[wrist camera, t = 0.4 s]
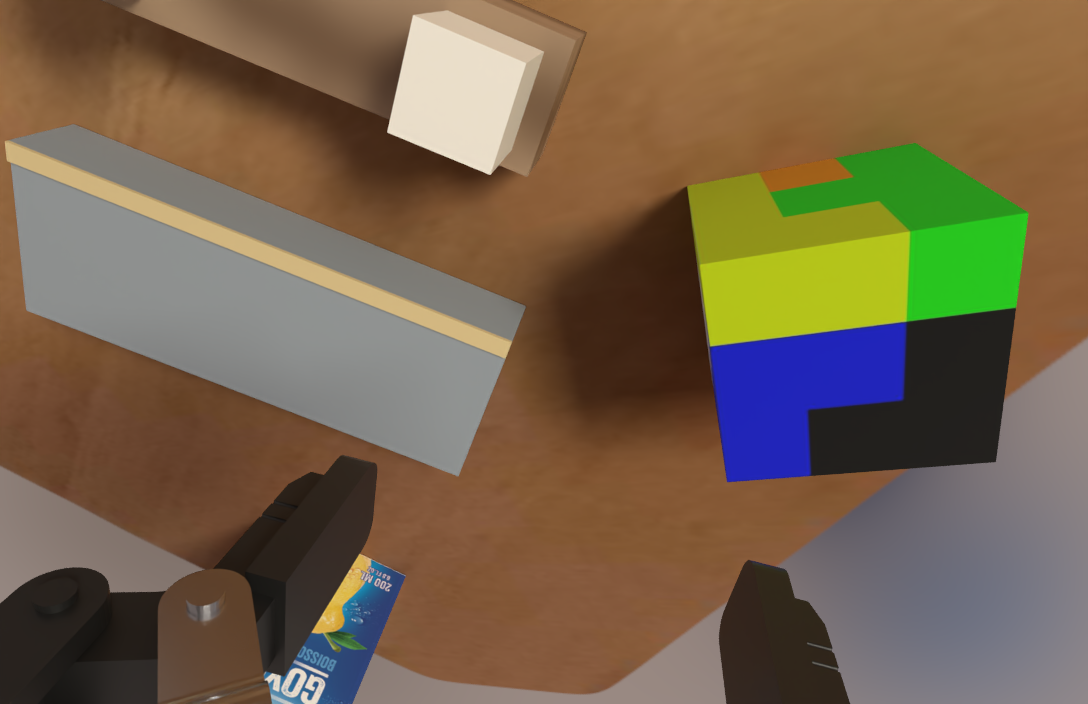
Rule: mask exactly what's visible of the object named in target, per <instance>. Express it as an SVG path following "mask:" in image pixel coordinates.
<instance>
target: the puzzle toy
mask: <svg viewBox="0 0 1088 704" xmlns="http://www.w3.org/2000/svg"><path fill="white" fill-rule="evenodd" d="M687 190H688V198H689V205H690V213H691V221H692V229H693V237H694V244H695V252H696V260H697V268H698V275H699V283H700V291H701V299H702V307H703V314H704V322H705V330H706V338H707V346H708V353H709V361H710V368H711V375H712V382H713V388H714V395H715V402H716V409H717V416H718V423H719V430H720V436H721V443H722V450H723V457H724V464H725V471H726V477H727V482H736V481H749V480H762V479H776V478H789V477H802V476H816V475H829V474H842V473H856V472H869V471H882V470H896V469H909V468H922V467H936V466H947V465H948V466H949V465H962V464H974V463H988V462H996V456H997V449H998V441H999V433H1000V426H1001V418H1002V411H1003V403H1004V395H1005V388H1006V380H1007V373H1008V365H1009V357H1010V350H1011V342H1012V334H1013V327H1014V319H1015V311H1016V304H1017V296H1018V289H1019V281H1020V273H1021V266H1022V258H1023V250H1024V243H1025V235H1026V228H1027V220H1028V212H1027V211H1025V210H1023V209H1022V208H1020V207H1018V206H1017V205H1015V204H1014V203H1012V202H1010V201H1009V200H1007V199H1005V198H1004V197H1002V196H1001V195H999V194H997V193H996V192H994V191H992V190H991V189H989V188H988V187H986V186H984V185H983V184H981V183H979V182H978V181H976V180H975V179H973V178H971V177H970V176H968V175H966V174H965V173H963V172H962V171H960V170H958V169H957V168H955V167H953V166H952V165H950V164H949V163H947V162H945V161H944V160H942V159H940V158H939V157H937V156H936V155H934V154H932V153H931V152H929V151H927V150H926V149H924V148H923V147H921V146H919V145H918V144H916V143H913V144H908V145H902V146H897V147H892V148H886V149H881V150H876V151H871V152H865V153H860V154H855V155H849V156H844V157H839V158H833V159H828V160H823V161H817V162H812V163H807V164H802V165H796V166H791V167H786V168H780V169H775V170H770V171H764V172H759V173H754V174H749V175H743V176H738V177H733V178H727V179H722V180H717V181H711V182H706V183H701V184H695V185H690V186H687Z"/></svg>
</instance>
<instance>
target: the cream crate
mask: <svg viewBox="0 0 1088 704" xmlns="http://www.w3.org/2000/svg"><path fill="white" fill-rule="evenodd" d="M543 54H544V51H541V50H539V49H537V48H534V47H532V46H530V45H527V44H525V43H523V42H520V41H518V40H516V39H513V38H511V37H508V36H506V35H504V34H501V33H499V32H497V31H494V30H492V29H490V28H487V27H485V26H483V25H480V24H478V23H476V22H473V21H471V20H469V19H466V18H464V17H462V16H459V15H457V14H455V13H452V12H450V11H448V10H446V11H439V12H432V13H424V14H417V15H413V18H412V22H411V27H410V31H409V36H408V40H407V45H406V49H405V54H404V58H403V63H402V67H401V72H400V77H399V81H398V86H397V90H396V95H395V99H394V104H393V108H392V113H391V117H390V122H389V126H388V131H387V133H390V134H392V135H394V136H397V137H399V138H402V139H404V140H407V141H409V142H411V143H414V144H416V145H419V146H421V147H424V148H426V149H428V150H431V151H433V152H436V153H438V154H440V155H443V156H445V157H448V158H450V159H453V160H455V161H457V162H460V163H462V164H465V165H467V166H469V167H472V168H474V169H477V170H479V171H482V172H484V173H486V174H489V175H491V174H492V173H493V171H494V170H495V169H496V168H497V167H498V165H499V164H500V163H501V162H502V161H503V160H504V158H505V157H506V156H507V155H508V154H509V153H510V151H511V150H512V147H513V144H514V141H515V138H516V135H517V132H518V129H519V126H520V123H521V120H522V117H523V114H524V111H525V108H526V105H527V102H528V99H529V96H530V93H531V90H532V87H533V84H534V81H535V78H536V75H537V72H538V69H539V66H540V63H541V60H542V57H543Z"/></svg>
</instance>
